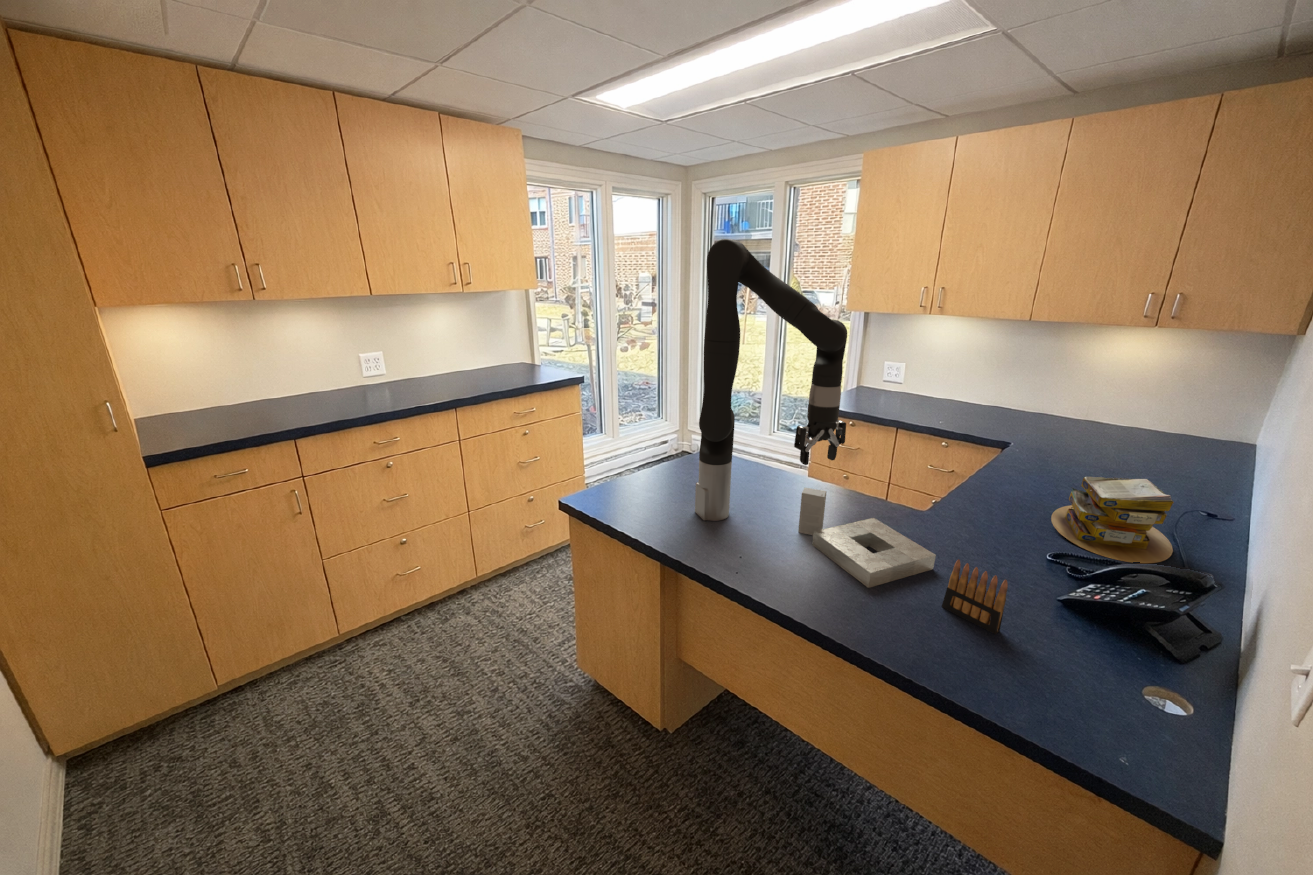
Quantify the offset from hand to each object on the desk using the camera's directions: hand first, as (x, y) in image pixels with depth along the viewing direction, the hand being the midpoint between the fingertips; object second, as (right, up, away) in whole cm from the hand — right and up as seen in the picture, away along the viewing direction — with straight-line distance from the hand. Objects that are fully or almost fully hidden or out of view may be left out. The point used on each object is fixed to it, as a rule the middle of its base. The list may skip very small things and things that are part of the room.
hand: (817, 461), depth 133 cm
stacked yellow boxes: (+79, -21, +4) cm, 82 cm away
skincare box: (0, -20, +7) cm, 21 cm away
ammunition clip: (+23, -32, -27) cm, 48 cm away
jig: (+11, -24, -5) cm, 27 cm away
